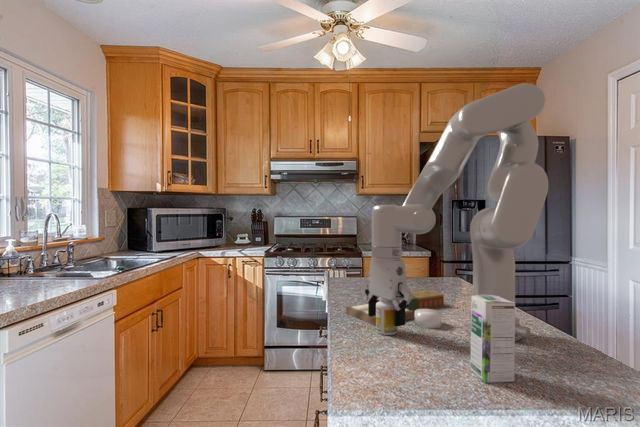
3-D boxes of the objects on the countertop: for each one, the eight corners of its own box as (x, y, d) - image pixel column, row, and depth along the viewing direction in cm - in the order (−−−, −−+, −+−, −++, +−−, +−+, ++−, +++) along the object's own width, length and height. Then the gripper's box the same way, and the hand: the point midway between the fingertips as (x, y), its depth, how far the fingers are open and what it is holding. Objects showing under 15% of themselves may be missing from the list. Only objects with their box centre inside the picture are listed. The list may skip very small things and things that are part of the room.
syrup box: (469, 369, 70) (469, 294, 70) (498, 368, 70) (498, 294, 70) (484, 383, 64) (484, 302, 64) (516, 382, 64) (516, 301, 64)
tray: (414, 318, 104) (414, 310, 104) (376, 326, 97) (376, 317, 97) (382, 307, 116) (381, 300, 116) (346, 313, 108) (346, 306, 108)
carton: (444, 307, 117) (444, 294, 117) (403, 312, 111) (403, 299, 111) (426, 301, 125) (427, 289, 125) (388, 306, 119) (388, 293, 119)
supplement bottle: (400, 331, 93) (400, 293, 93) (392, 337, 88) (392, 297, 88) (381, 327, 95) (381, 290, 95) (372, 333, 91) (372, 294, 91)
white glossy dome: (447, 326, 97) (447, 313, 97) (428, 330, 93) (428, 317, 93) (427, 319, 103) (427, 307, 103) (409, 323, 99) (409, 310, 99)
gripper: (422, 255, 86) (422, 327, 86) (375, 249, 101) (375, 310, 101) (399, 257, 82) (399, 332, 82) (354, 250, 97) (353, 314, 97)
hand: (386, 320), depth 92 cm, fingers open, 9 cm apart
